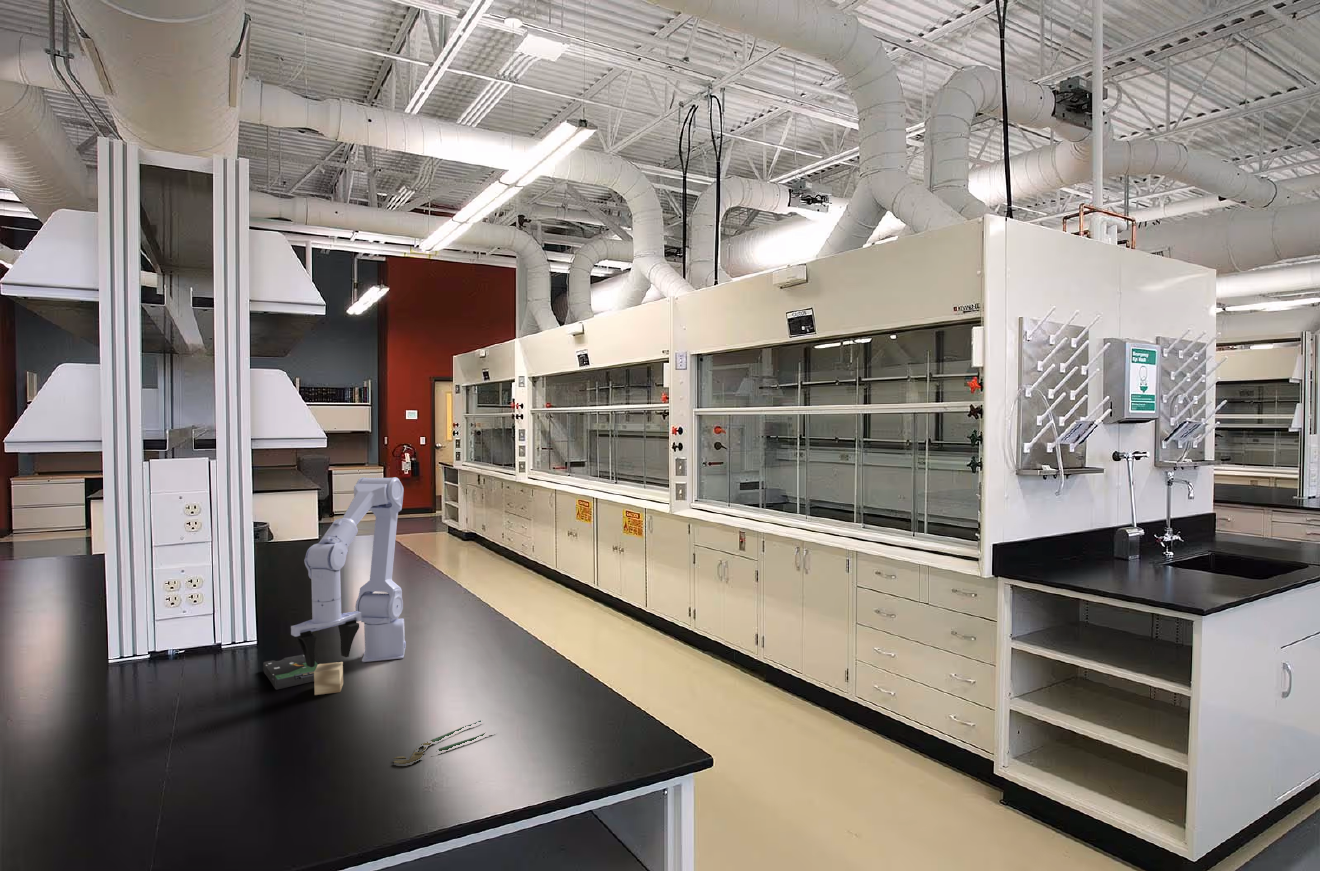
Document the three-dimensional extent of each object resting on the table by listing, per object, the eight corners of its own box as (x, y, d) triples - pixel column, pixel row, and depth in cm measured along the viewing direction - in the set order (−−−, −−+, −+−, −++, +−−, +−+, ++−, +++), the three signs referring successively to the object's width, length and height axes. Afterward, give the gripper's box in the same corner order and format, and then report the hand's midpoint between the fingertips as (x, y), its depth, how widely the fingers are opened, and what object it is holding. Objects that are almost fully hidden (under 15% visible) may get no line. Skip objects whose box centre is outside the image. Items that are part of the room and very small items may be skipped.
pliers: (482, 725, 139) (482, 718, 139) (501, 734, 135) (501, 727, 134) (383, 760, 125) (383, 753, 125) (401, 772, 120) (401, 764, 120)
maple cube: (343, 683, 160) (342, 661, 160) (340, 692, 155) (339, 669, 155) (318, 686, 158) (317, 664, 158) (314, 695, 153) (314, 672, 153)
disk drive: (262, 674, 168) (276, 691, 156) (261, 662, 168) (275, 679, 156) (310, 663, 174) (326, 680, 163) (309, 652, 174) (326, 667, 163)
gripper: (349, 589, 164) (350, 648, 164) (283, 603, 153) (285, 666, 153) (365, 594, 160) (367, 654, 160) (299, 608, 148) (300, 673, 149)
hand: (328, 660), depth 156 cm, fingers open, 7 cm apart
